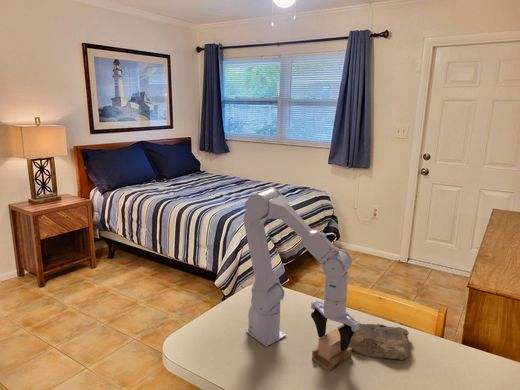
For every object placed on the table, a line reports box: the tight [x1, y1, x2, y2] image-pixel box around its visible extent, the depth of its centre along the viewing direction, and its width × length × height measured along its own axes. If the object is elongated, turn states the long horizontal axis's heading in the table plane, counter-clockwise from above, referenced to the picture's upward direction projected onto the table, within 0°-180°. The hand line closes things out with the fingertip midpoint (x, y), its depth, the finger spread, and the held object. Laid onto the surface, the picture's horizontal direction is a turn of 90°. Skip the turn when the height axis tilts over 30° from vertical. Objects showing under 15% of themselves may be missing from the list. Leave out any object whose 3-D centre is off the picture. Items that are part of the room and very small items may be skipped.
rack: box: [311, 347, 353, 372], centre depth 103 cm, size 9×6×3 cm
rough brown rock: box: [337, 323, 410, 361], centre depth 110 cm, size 14×5×20 cm
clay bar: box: [317, 328, 343, 361], centre depth 102 cm, size 7×4×4 cm, turn 130°
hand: (332, 342), depth 102 cm, fingers open, 7 cm apart
